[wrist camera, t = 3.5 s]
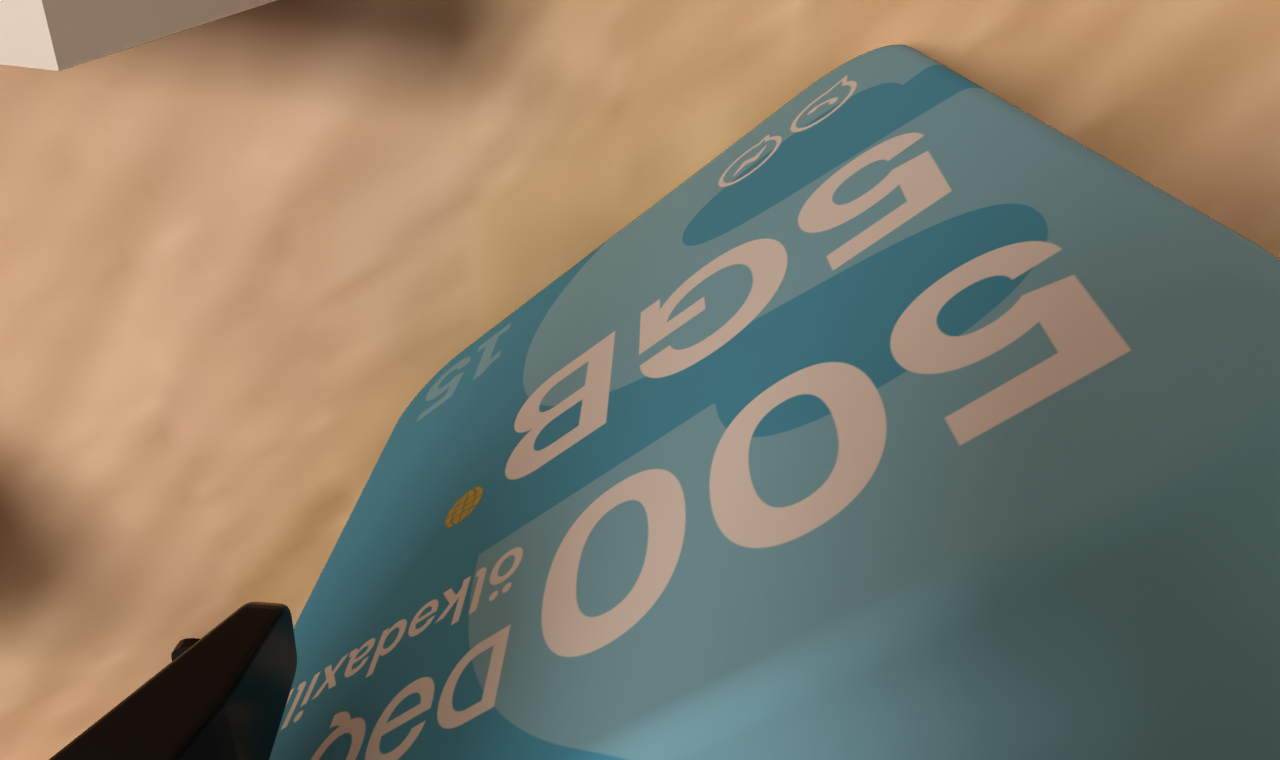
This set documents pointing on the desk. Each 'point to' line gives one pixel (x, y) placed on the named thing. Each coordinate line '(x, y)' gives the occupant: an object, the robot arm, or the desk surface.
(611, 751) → the data package
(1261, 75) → the desk surface
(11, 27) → the white box
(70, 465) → the desk surface
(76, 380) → the desk surface
